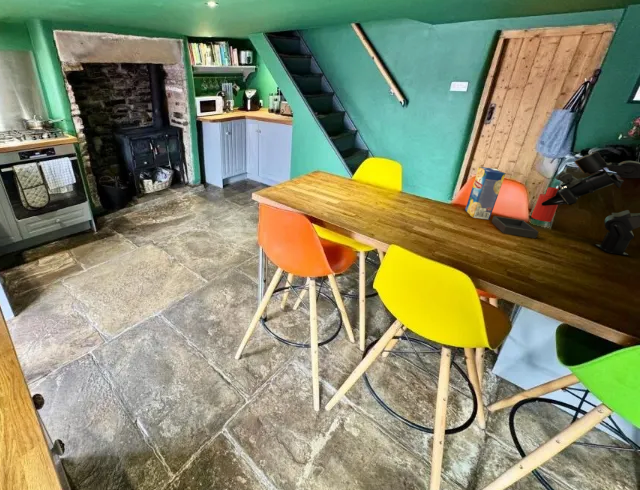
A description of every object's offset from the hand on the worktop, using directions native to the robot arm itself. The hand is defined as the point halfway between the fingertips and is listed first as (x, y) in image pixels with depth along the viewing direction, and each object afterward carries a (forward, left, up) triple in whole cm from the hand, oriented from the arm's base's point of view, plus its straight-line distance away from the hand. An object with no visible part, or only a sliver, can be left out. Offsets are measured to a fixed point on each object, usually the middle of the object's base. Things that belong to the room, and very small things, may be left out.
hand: (542, 202), depth 125 cm
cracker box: (+11, +17, -13) cm, 24 cm away
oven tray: (-4, +8, -13) cm, 15 cm away
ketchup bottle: (-1, -1, -7) cm, 7 cm away
